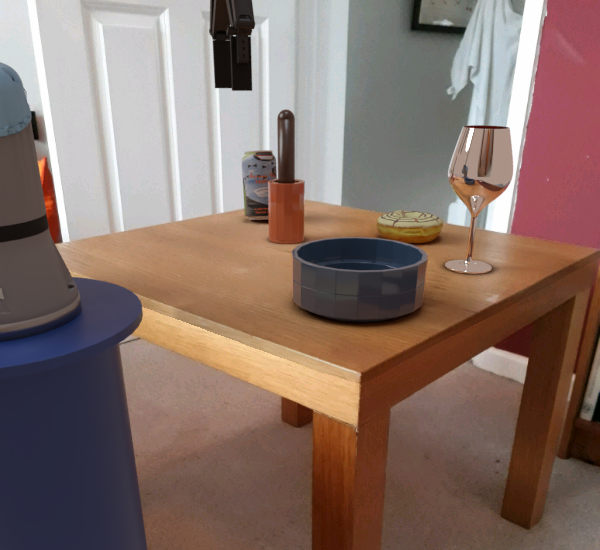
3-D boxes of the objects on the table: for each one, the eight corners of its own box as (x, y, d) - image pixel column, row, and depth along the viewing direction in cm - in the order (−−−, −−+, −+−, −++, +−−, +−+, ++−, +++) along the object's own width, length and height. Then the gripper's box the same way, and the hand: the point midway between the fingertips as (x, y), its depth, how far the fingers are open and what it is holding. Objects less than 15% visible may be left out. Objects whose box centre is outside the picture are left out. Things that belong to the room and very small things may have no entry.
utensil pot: (262, 240, 101) (260, 182, 97) (281, 233, 105) (281, 177, 101) (291, 245, 99) (291, 185, 94) (310, 238, 103) (311, 180, 99)
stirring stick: (275, 236, 101) (273, 109, 93) (284, 233, 103) (283, 108, 95) (289, 239, 100) (288, 110, 92) (297, 235, 102) (298, 109, 94)
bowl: (266, 310, 72) (265, 258, 69) (331, 277, 84) (333, 231, 81) (388, 336, 65) (393, 280, 62) (441, 297, 76) (447, 247, 74)
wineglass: (467, 279, 83) (487, 130, 75) (425, 264, 89) (439, 125, 81) (510, 270, 87) (534, 128, 79) (467, 256, 93) (484, 123, 85)
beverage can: (251, 225, 111) (249, 152, 105) (237, 217, 117) (235, 148, 111) (284, 222, 113) (284, 150, 108) (269, 214, 119) (268, 146, 114)
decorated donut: (428, 229, 109) (431, 207, 107) (450, 244, 100) (453, 220, 98) (369, 230, 108) (371, 208, 106) (385, 246, 98) (387, 221, 97)
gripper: (277, -111, 74) (279, 91, 83) (234, -71, 95) (239, 87, 105) (213, -117, 72) (222, 91, 81) (184, -74, 93) (194, 87, 103)
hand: (232, 89), depth 93 cm, fingers open, 13 cm apart
